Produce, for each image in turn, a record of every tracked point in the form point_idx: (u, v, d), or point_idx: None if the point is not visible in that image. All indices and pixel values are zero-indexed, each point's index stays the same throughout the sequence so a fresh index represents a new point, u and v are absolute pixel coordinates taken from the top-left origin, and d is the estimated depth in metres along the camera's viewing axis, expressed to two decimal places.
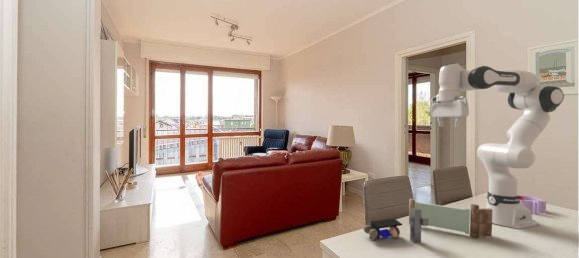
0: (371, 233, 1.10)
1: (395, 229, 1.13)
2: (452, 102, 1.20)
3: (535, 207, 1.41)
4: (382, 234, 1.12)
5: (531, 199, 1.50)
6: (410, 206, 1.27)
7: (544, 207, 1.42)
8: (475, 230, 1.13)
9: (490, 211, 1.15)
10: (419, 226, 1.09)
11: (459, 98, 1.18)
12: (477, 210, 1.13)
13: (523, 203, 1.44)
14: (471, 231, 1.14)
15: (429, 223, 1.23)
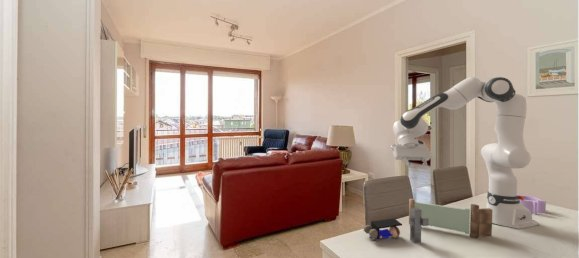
0: (371, 233, 1.10)
1: (395, 229, 1.13)
2: None
3: (535, 207, 1.41)
4: (382, 234, 1.12)
5: (531, 199, 1.50)
6: (410, 206, 1.27)
7: (544, 206, 1.42)
8: (475, 230, 1.13)
9: (490, 211, 1.15)
10: (419, 226, 1.09)
11: None
12: (477, 210, 1.13)
13: (523, 203, 1.44)
14: (471, 231, 1.14)
15: (429, 223, 1.23)
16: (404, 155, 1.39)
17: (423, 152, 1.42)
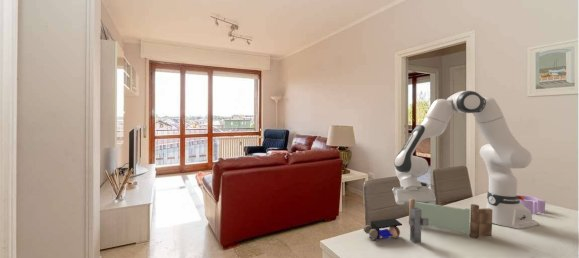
0: (371, 233, 1.10)
1: (395, 229, 1.13)
2: None
3: (535, 207, 1.41)
4: (382, 234, 1.12)
5: (530, 199, 1.50)
6: (410, 206, 1.27)
7: (543, 206, 1.43)
8: (475, 230, 1.13)
9: (490, 211, 1.15)
10: (419, 226, 1.09)
11: None
12: (477, 210, 1.13)
13: (523, 203, 1.45)
14: (471, 231, 1.14)
15: (429, 223, 1.23)
16: (406, 200, 1.33)
17: (426, 195, 1.35)
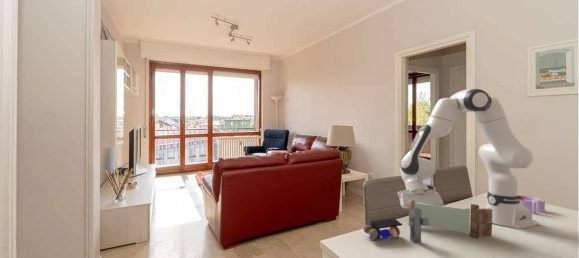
0: (371, 233, 1.10)
1: (395, 229, 1.13)
2: None
3: (534, 207, 1.41)
4: (382, 234, 1.12)
5: (530, 199, 1.50)
6: (410, 207, 1.26)
7: (543, 206, 1.43)
8: (475, 230, 1.13)
9: (490, 211, 1.15)
10: (419, 226, 1.09)
11: None
12: (477, 210, 1.13)
13: (522, 203, 1.45)
14: (471, 231, 1.14)
15: (429, 224, 1.22)
16: None
17: (433, 199, 1.29)
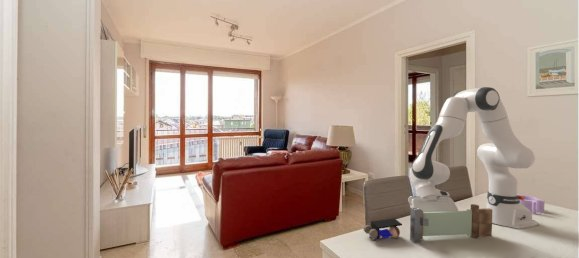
0: (371, 233, 1.10)
1: (395, 229, 1.13)
2: None
3: (534, 207, 1.41)
4: (382, 234, 1.12)
5: (529, 199, 1.51)
6: None
7: (542, 206, 1.43)
8: (475, 230, 1.13)
9: (490, 211, 1.15)
10: (419, 226, 1.09)
11: None
12: (477, 210, 1.13)
13: (522, 203, 1.45)
14: (471, 231, 1.14)
15: (437, 233, 1.13)
16: (424, 211, 1.17)
17: (447, 206, 1.19)
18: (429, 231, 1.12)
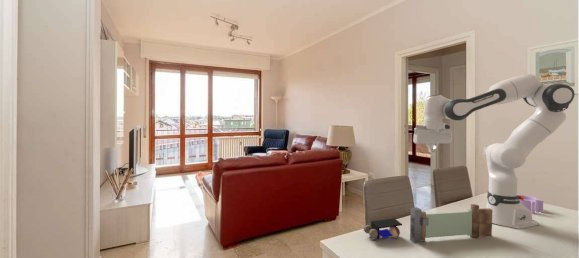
0: (371, 233, 1.10)
1: (395, 229, 1.13)
2: None
3: (533, 206, 1.42)
4: (382, 234, 1.12)
5: (528, 198, 1.51)
6: None
7: (541, 206, 1.43)
8: (475, 230, 1.13)
9: (490, 211, 1.15)
10: (419, 226, 1.09)
11: None
12: (477, 210, 1.13)
13: (521, 202, 1.46)
14: None
15: (439, 234, 1.12)
16: (424, 142, 1.35)
17: (445, 138, 1.37)
18: (431, 232, 1.11)
